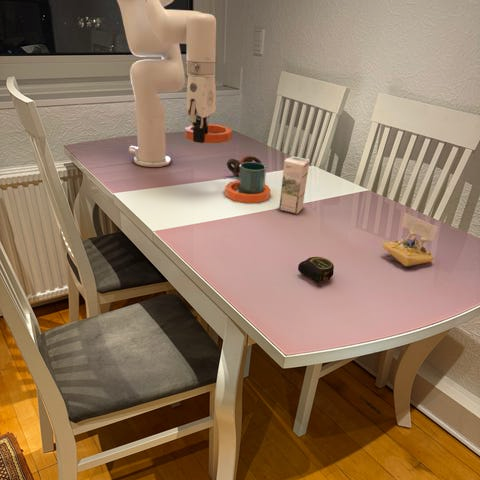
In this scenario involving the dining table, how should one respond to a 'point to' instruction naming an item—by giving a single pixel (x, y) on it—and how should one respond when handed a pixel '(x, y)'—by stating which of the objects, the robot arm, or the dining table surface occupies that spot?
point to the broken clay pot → (237, 163)
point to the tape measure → (317, 269)
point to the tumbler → (251, 178)
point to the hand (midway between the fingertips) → (200, 140)
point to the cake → (412, 242)
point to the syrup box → (293, 184)
